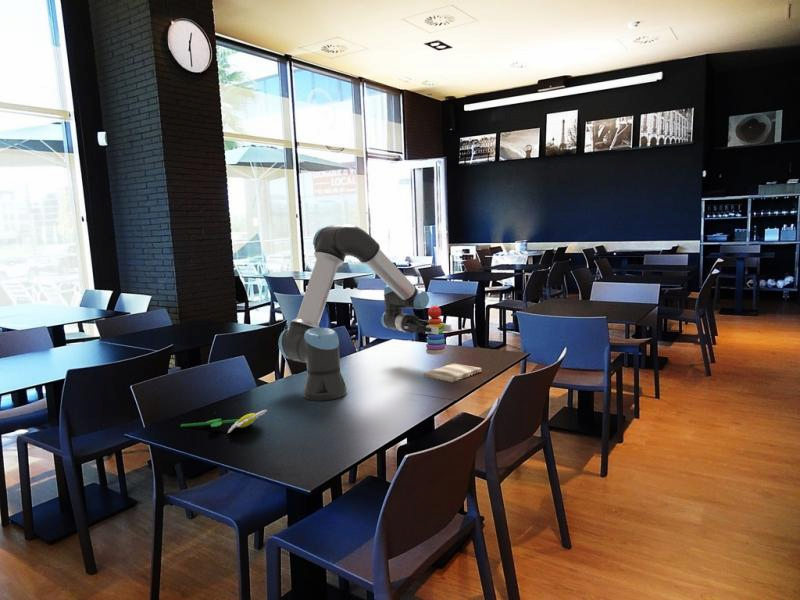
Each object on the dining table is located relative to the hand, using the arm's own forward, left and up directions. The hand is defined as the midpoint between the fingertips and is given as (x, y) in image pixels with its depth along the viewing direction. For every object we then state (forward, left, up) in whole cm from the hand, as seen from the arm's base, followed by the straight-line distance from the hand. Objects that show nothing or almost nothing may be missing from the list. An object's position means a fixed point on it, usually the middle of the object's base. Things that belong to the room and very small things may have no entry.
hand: (444, 329), depth 212 cm
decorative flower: (-85, +17, -18) cm, 89 cm away
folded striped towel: (+3, -1, -18) cm, 18 cm away
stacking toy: (+1, +5, -10) cm, 11 cm away
